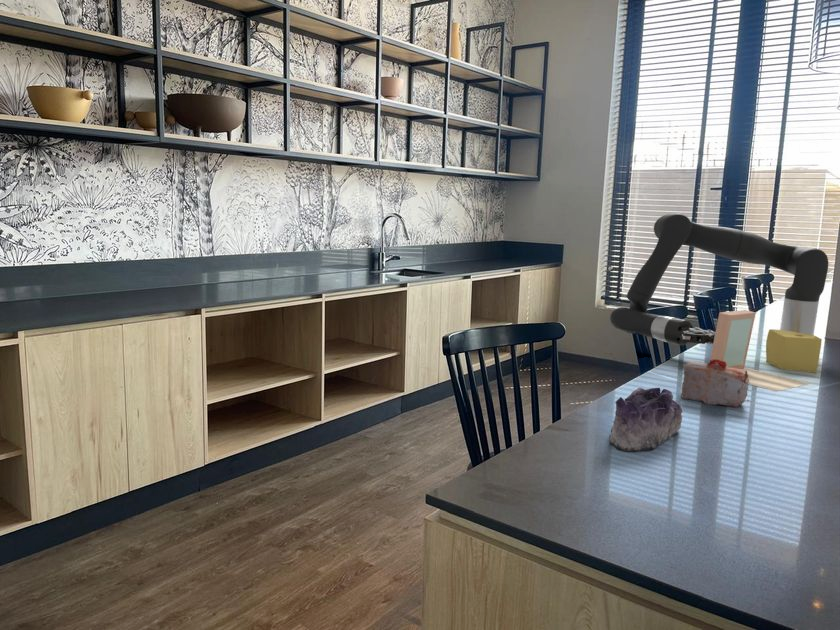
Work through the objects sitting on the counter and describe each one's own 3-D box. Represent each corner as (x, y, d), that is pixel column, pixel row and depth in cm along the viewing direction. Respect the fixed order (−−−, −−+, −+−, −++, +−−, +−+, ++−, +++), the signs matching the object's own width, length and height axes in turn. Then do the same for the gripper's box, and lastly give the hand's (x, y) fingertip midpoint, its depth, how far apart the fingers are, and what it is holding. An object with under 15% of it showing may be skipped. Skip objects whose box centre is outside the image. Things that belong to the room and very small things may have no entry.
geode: (662, 463, 110) (660, 406, 108) (597, 454, 116) (594, 400, 115) (691, 427, 126) (689, 378, 124) (632, 421, 133) (630, 374, 131)
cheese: (800, 364, 187) (805, 330, 185) (818, 374, 177) (824, 338, 175) (763, 362, 188) (767, 328, 186) (779, 371, 177) (784, 336, 176)
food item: (745, 402, 147) (751, 360, 145) (745, 411, 140) (751, 368, 138) (681, 392, 153) (686, 352, 151) (678, 400, 146) (683, 358, 144)
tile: (733, 365, 178) (745, 310, 175) (744, 368, 176) (756, 312, 172) (707, 370, 172) (719, 312, 168) (718, 373, 170) (730, 315, 166)
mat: (725, 364, 183) (726, 362, 182) (809, 385, 164) (810, 383, 163) (691, 370, 174) (691, 368, 174) (775, 393, 155) (776, 391, 155)
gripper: (658, 318, 184) (713, 330, 169) (686, 316, 191) (741, 326, 176) (655, 344, 185) (709, 357, 171) (683, 340, 192) (738, 353, 178)
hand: (726, 342), depth 174 cm, fingers closed
